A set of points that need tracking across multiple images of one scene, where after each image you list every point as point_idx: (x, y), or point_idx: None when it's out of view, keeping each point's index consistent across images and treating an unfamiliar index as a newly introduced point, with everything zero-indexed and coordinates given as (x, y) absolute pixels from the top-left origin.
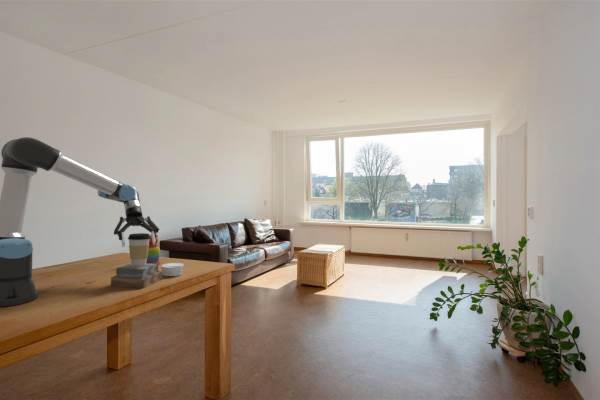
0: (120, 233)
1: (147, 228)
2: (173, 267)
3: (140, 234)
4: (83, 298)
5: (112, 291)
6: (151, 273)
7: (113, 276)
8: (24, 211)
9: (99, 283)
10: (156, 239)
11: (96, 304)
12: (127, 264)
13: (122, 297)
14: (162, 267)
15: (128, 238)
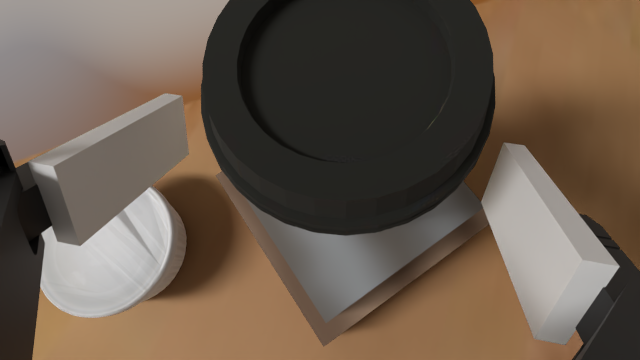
0: (621, 283)
1: (15, 308)
2: None
3: (302, 116)
4: (614, 103)
5: (490, 130)
6: None
7: (477, 230)
8: None
9: (512, 325)
10: None
11: (577, 4)
12: (388, 276)
13: None
14: (175, 240)
15: (491, 96)
